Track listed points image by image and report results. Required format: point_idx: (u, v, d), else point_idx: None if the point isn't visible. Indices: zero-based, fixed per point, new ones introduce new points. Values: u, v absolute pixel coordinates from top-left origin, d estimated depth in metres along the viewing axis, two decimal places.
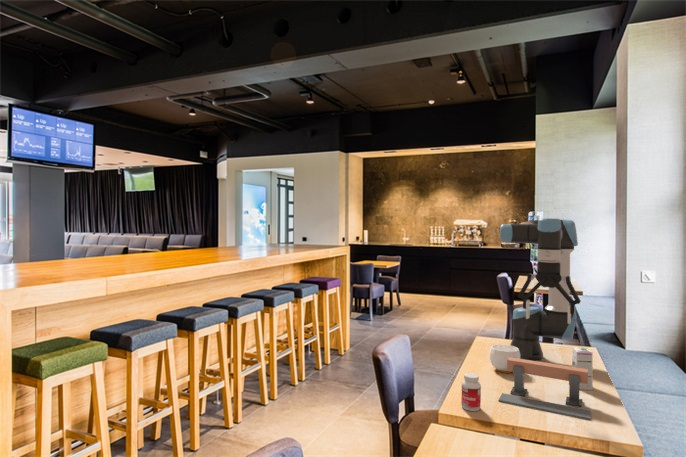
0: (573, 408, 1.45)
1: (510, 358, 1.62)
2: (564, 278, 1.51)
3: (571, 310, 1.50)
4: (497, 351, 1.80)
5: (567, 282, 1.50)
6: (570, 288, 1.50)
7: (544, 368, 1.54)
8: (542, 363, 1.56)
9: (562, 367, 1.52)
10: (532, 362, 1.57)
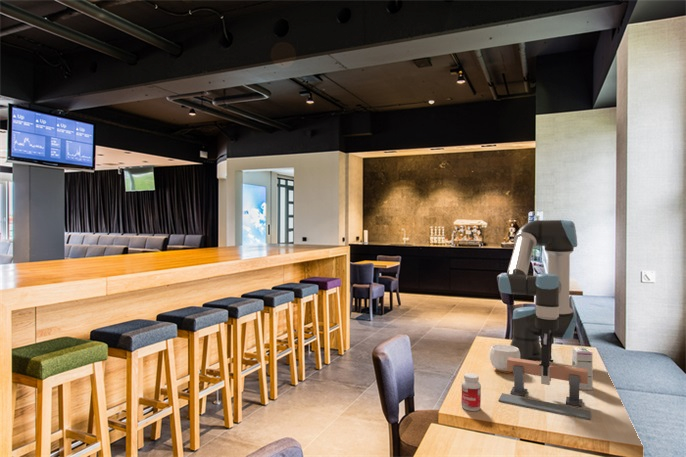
0: (573, 408, 1.45)
1: (510, 358, 1.62)
2: None
3: None
4: (497, 351, 1.80)
5: None
6: (541, 349, 1.51)
7: None
8: None
9: (562, 367, 1.52)
10: (532, 362, 1.57)
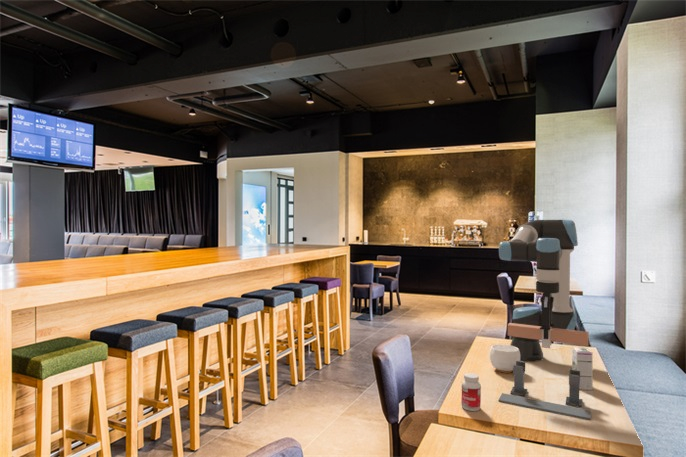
0: (573, 408, 1.45)
1: (511, 323, 1.62)
2: None
3: None
4: (497, 351, 1.80)
5: (542, 306, 1.51)
6: (542, 312, 1.51)
7: None
8: None
9: (563, 330, 1.52)
10: (533, 326, 1.57)
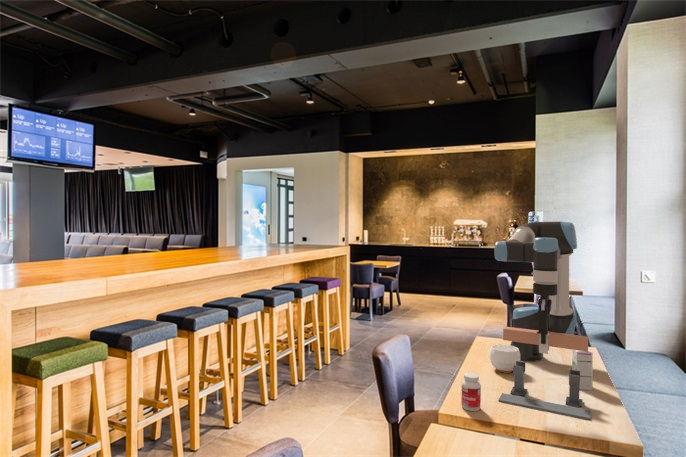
0: (573, 408, 1.45)
1: (506, 327, 1.54)
2: None
3: None
4: (497, 351, 1.80)
5: (539, 309, 1.43)
6: (539, 315, 1.43)
7: None
8: None
9: (561, 334, 1.44)
10: (529, 330, 1.49)
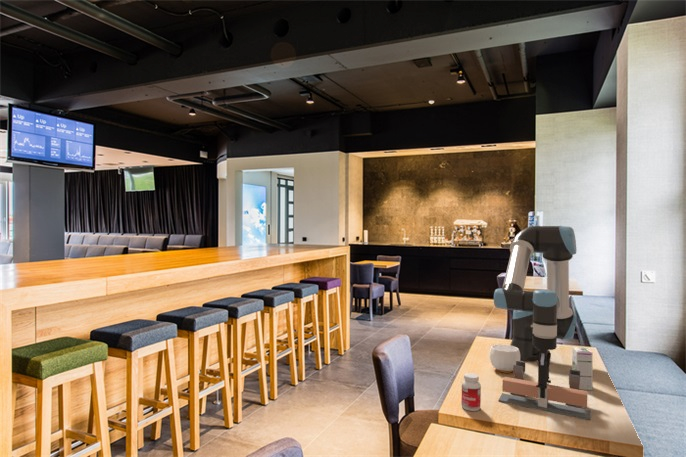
0: (573, 408, 1.45)
1: (506, 378, 1.54)
2: (541, 359, 1.43)
3: None
4: (497, 351, 1.80)
5: None
6: (538, 370, 1.43)
7: None
8: None
9: (560, 389, 1.44)
10: (529, 383, 1.49)
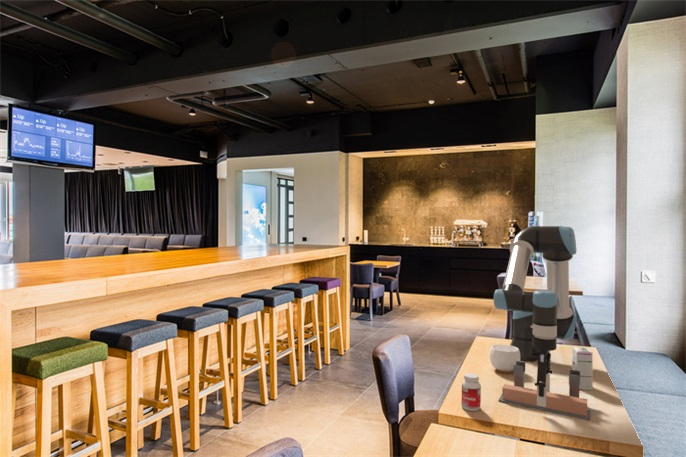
0: None
1: (505, 385, 1.54)
2: None
3: None
4: (497, 351, 1.80)
5: (538, 361, 1.42)
6: None
7: None
8: None
9: (560, 397, 1.44)
10: (528, 390, 1.49)
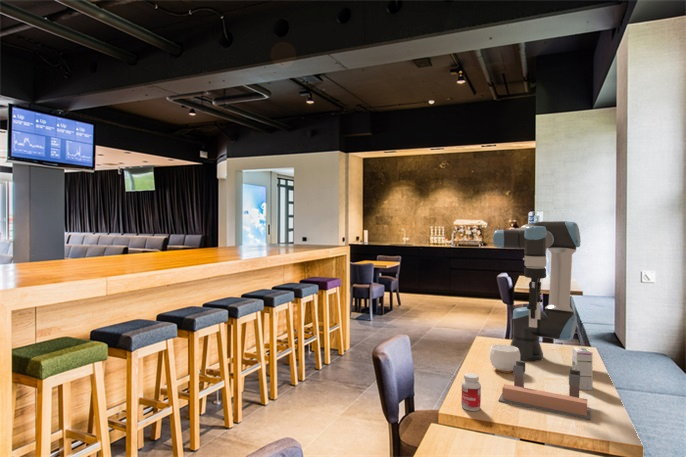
0: None
1: (505, 385, 1.54)
2: None
3: None
4: (497, 351, 1.80)
5: (529, 287, 1.58)
6: None
7: (541, 397, 1.46)
8: (539, 392, 1.48)
9: (560, 397, 1.44)
10: (528, 390, 1.49)
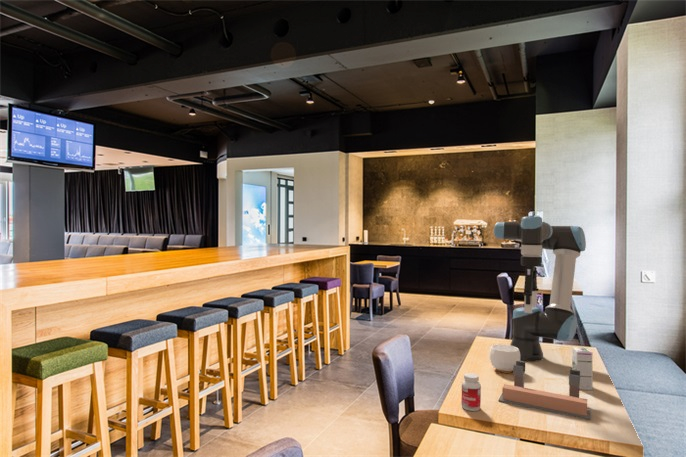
0: None
1: (505, 385, 1.54)
2: None
3: None
4: (497, 351, 1.80)
5: None
6: None
7: (541, 397, 1.46)
8: (539, 392, 1.48)
9: (560, 397, 1.44)
10: (528, 390, 1.49)
